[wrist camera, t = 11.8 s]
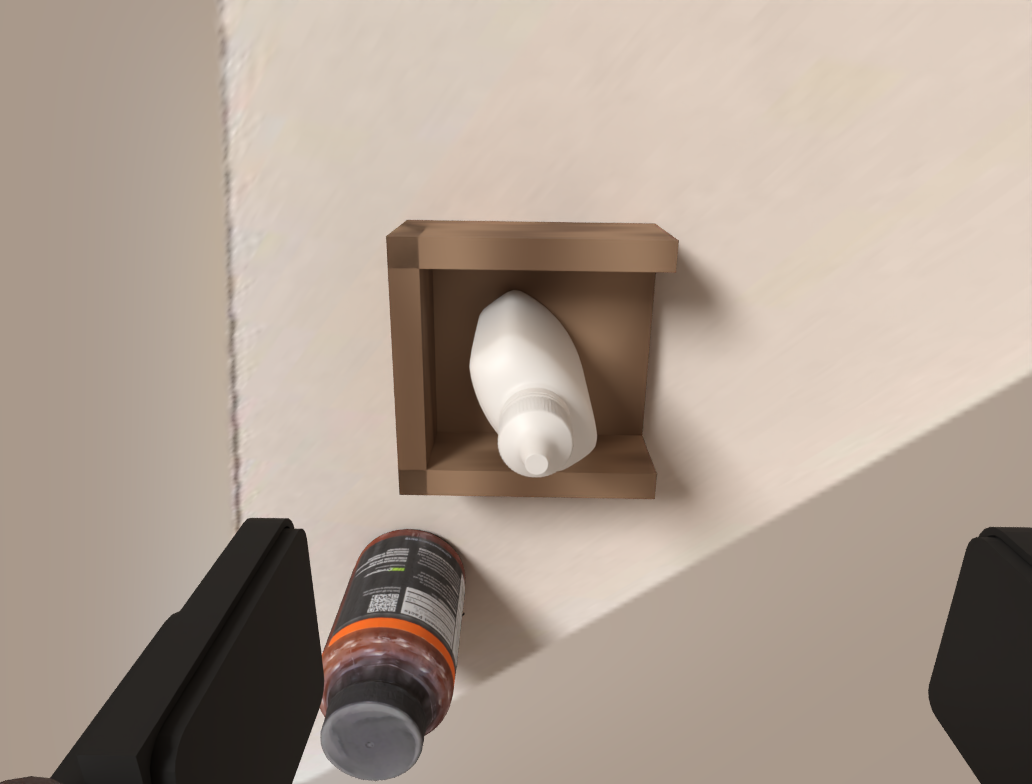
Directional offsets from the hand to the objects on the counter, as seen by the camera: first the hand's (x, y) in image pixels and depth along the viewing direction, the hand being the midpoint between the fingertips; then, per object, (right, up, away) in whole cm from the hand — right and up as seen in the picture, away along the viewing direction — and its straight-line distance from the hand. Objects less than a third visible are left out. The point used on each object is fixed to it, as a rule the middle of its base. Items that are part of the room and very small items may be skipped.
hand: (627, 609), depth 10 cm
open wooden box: (-1, +5, +23) cm, 24 cm away
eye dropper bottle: (-1, +5, +22) cm, 23 cm away
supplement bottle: (-7, -7, +28) cm, 29 cm away
